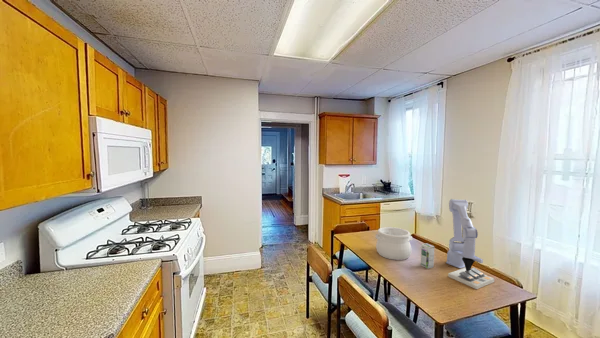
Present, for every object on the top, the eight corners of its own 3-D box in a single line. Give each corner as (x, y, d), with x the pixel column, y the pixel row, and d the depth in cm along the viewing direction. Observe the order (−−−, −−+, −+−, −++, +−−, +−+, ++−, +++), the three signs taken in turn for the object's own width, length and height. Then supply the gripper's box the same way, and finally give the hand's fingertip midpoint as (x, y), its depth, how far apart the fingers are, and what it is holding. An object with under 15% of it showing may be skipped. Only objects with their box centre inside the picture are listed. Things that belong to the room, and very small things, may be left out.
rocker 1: (459, 273, 148) (459, 272, 148) (463, 272, 150) (463, 271, 149) (469, 280, 143) (469, 279, 143) (473, 278, 145) (473, 277, 144)
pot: (406, 249, 196) (406, 227, 195) (417, 262, 172) (418, 237, 171) (372, 247, 199) (372, 226, 198) (378, 260, 174) (379, 236, 173)
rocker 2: (464, 271, 150) (465, 270, 150) (468, 270, 152) (468, 269, 152) (475, 278, 145) (475, 277, 145) (478, 276, 147) (479, 275, 147)
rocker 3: (470, 269, 153) (470, 268, 153) (473, 268, 155) (474, 267, 154) (480, 276, 148) (480, 275, 148) (484, 275, 150) (484, 273, 149)
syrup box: (420, 265, 168) (420, 243, 167) (426, 263, 170) (427, 242, 169) (427, 268, 162) (427, 246, 162) (433, 267, 165) (434, 245, 164)
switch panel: (448, 276, 152) (448, 273, 152) (465, 270, 160) (465, 267, 160) (476, 289, 138) (476, 285, 138) (494, 281, 146) (494, 278, 146)
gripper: (452, 245, 154) (452, 266, 155) (478, 253, 141) (477, 276, 142) (459, 243, 157) (458, 264, 158) (485, 251, 145) (484, 274, 145)
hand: (468, 270), depth 150 cm, fingers closed
